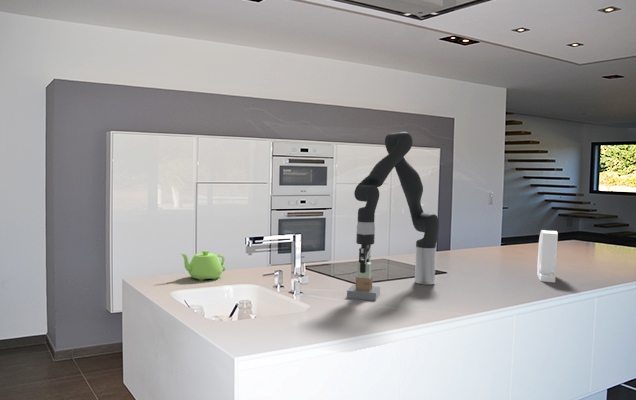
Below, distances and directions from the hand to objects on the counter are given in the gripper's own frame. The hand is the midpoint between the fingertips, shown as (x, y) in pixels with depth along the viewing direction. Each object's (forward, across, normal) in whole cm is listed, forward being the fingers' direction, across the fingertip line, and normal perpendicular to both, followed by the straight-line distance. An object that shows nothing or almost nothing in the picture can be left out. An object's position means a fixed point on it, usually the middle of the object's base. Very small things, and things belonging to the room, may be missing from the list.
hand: (364, 270), depth 220 cm
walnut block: (+8, 0, 0) cm, 8 cm away
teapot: (+11, -7, -78) cm, 79 cm away
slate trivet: (+11, 0, 0) cm, 11 cm away
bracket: (+11, -72, +82) cm, 110 cm away
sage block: (+3, 0, 0) cm, 3 cm away
